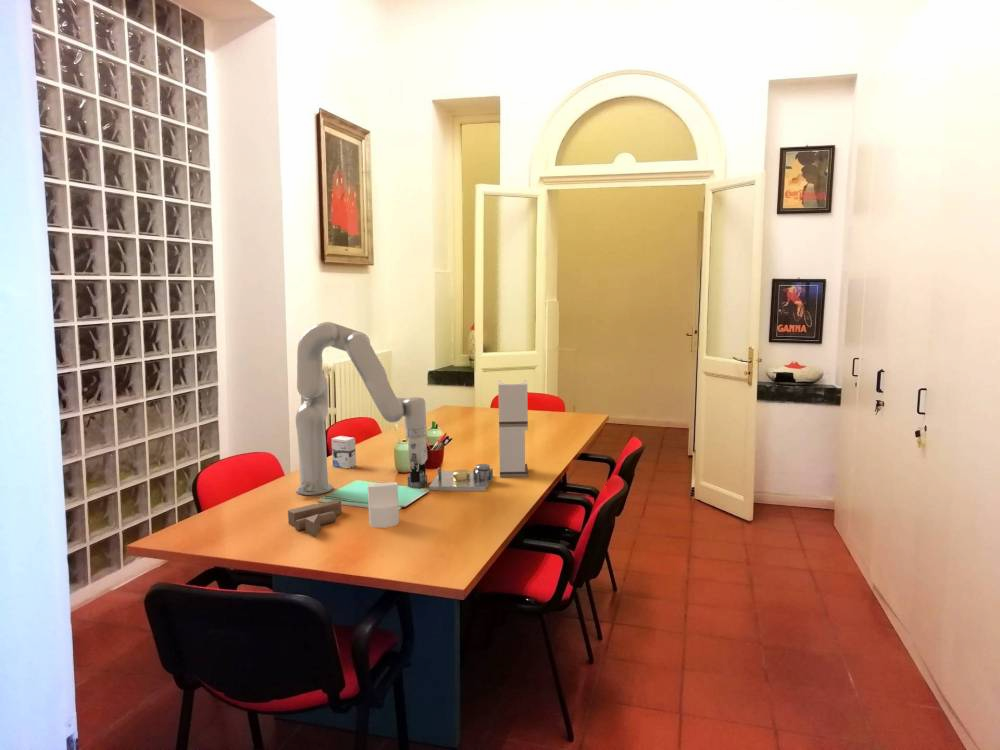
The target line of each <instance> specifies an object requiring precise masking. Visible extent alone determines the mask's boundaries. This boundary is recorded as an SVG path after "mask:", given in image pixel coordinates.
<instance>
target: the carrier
mask: <svg viewBox="0 0 1000 750" xmlns="http://www.w3.org/2000/svg"><path fill="white" fill-rule="evenodd" d="M475 466H476V468H473V470H472V471H470V470H468V469H456V470H453V471H451V470H450V471H446V470H445V471H444V470H442V467H439V466H438V467H437V474H436V475H435V477H434V478H433V480H432V481H431V483H430V484H429V485H428V491H444V492H445V491H446V492H447V491H449V492H453V491H455V492H456V491H457V492H461V491H463V492H486V490H487V489H488V486H489V483H490V481H492V480H493V479H494V474H493V473H494V472H493V471H494V468H491V467H490V464H489V463H479V464H476V465H475Z"/></svg>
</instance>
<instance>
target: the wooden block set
mask: <svg viewBox="0 0 1000 750" xmlns="http://www.w3.org/2000/svg"><path fill="white" fill-rule="evenodd" d="M341 513H342V500H341V499H333V500H328V501H325V502H320V503H319V502H318V503H317V504H316V503H313V504H309V505H303V506H300V507H296V508H290V509H288V510H287V518H288V519H287V520H288V524H289V525H290V526H292V527H294V528H295V529H296V531H298V532H299V531H303V530H305V533H306V534H308V535H309V536H311V537H312V538H315V537H316V536H317V535H318V534H319V532H320V531H321V525H322V526H323V525H326V524H331V523H333V522H335V521H336V520H337V516H339V515H340V514H341Z"/></svg>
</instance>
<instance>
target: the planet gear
mask: <svg viewBox="0 0 1000 750" xmlns="http://www.w3.org/2000/svg"><path fill="white" fill-rule="evenodd" d="M419 472H420V482H419V483H412V482H411V476H410V474H408V476H406V479H407V483H406V484H407V487H408V486H409V487H410V488H411V487H412V488H411V489H414V488H417V489H421V488H425V487H427V485H428V474H424V471H422V470H419ZM413 487H414V488H413Z"/></svg>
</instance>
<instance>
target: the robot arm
mask: <svg viewBox="0 0 1000 750" xmlns="http://www.w3.org/2000/svg"><path fill="white" fill-rule="evenodd" d="M329 347H331V348H335V349H337V350H340V351H343V352H346V354H347V356H348V357H349V359H350V361H351V362H352V364H353V366H354V367H355V370H356V371H357V372H358V374H359V376H360V377H361V381H362V382H363V383H364V386H365V387H366V389H367V391H368V393H369V394H370V397H371V399H372V400H373V403H374V404H375V406H376V408H377V410H378V411H379V413H380V414H381V416H382V417H383V419H384V420H385V421H387V422H389V423H397V422H399V421H401V419H402V418H403V417H404V427H405V430H404V431H405V438H406V439H407V438H408V440H407V441H408V443H407V444H408V445H407V446H408V447H407V448H408V453H407V454H408V463H409V465H410V469H409V475H410V476H411V482H412V483H419V482H420V472H419V470H422V471H424V474H425V475H427V474H426V473H427V472H426V461H427V460H428V448H427V439H426V437H427V435H428V434H427V433H428V431H427V414H426V413H427V412H426V400H425V399H424V398H423V397H417V396H415V397H409V398H407V397H406V398H405V397H404V398H403V397H397V396H396V394H395V393H394V390H393V389H392V387H391V385H390V382H389V379H388V375H387V373H386V370H385V368H384V366H383V364H382V362H381V361H380V359H379V357H378V355H377V354H376V352H375V350H374V348H373V346H372V344H371V340H370V338H369V336H368V335H367V334H366V333H364V332H362V331H358V330H357V329H356V330H355V329H352V328H349V327H346V326H343V325H340V324H337V323H335V322H331V321H324V322H320V323H318V324H315V325H314V326H312V327H310V328H309V329H307V330H305V332H304V333H303V334H302V335H301V337H300V339H299V340H298V345H297V351H296V352H297V353H296V354H297V355H296V357H297V358H296V360H297V361H296V363H297V365H296V390H297V392H298V394H299V395H300V407H299V408H298V410H297V411H296V414H295V415H296V416H295V426H296V433H297V434H296V435H297V447H298V448H297V449H298V464H299V483H300V485H298V486H297V487H296V489H295V490H296V491H295V492H296V493H297V494H298V495H303V496H317V495H322V494H326V493H329V492H331V491H332V490H333V488H334V486H333V484H331V483H330V482H329V479H328V478H329V477H328V457H327V455H328V454H327V453H328V452H327V440H326V439H327V438H326V428H325V420H326V418H327V416H328V410H329V402H328V401H329V398H328V397H329V396H328V395H329V393H328V392H329V391H328V388H329V386H328V379H327V376H326V375H325V374H324V373H323V351H324V350H325V349H326V348H329Z"/></svg>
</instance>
